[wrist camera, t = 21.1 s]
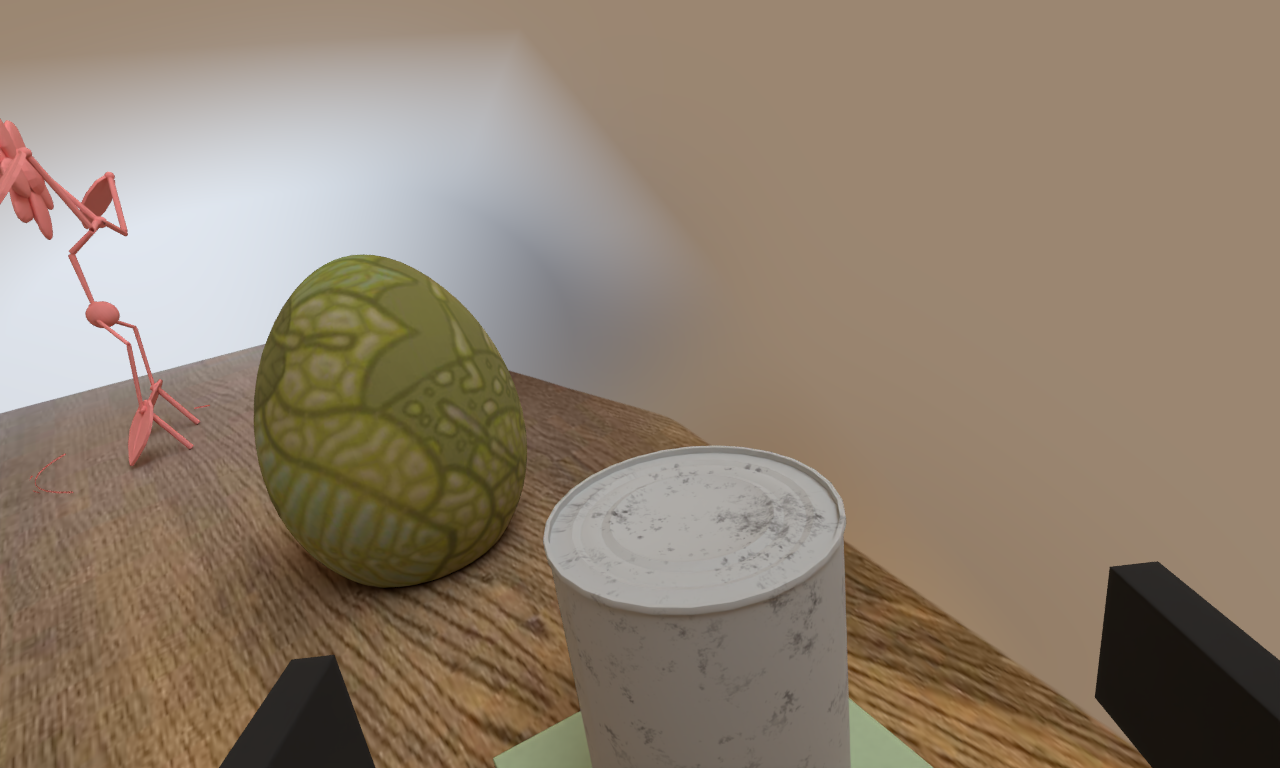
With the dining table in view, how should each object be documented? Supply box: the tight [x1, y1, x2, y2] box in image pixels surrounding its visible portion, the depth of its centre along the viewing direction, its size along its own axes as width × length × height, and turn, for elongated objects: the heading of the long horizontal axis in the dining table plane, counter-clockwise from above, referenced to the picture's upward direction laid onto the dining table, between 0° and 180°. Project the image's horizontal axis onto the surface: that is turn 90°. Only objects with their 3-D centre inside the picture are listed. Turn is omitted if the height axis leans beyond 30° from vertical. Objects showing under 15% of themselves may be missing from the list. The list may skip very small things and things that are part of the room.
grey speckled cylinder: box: [543, 446, 851, 768], centre depth 24 cm, size 10×10×12 cm
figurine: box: [0, 119, 210, 493], centre depth 67 cm, size 15×26×35 cm, turn 29°
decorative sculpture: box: [254, 255, 527, 588], centre depth 44 cm, size 16×16×20 cm
